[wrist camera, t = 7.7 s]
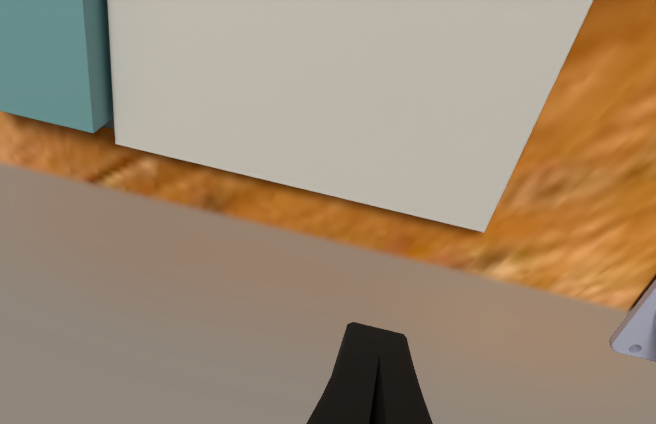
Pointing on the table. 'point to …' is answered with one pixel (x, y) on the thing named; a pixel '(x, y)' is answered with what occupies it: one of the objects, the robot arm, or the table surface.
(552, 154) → the table surface
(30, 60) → the tile
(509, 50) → the plinth
